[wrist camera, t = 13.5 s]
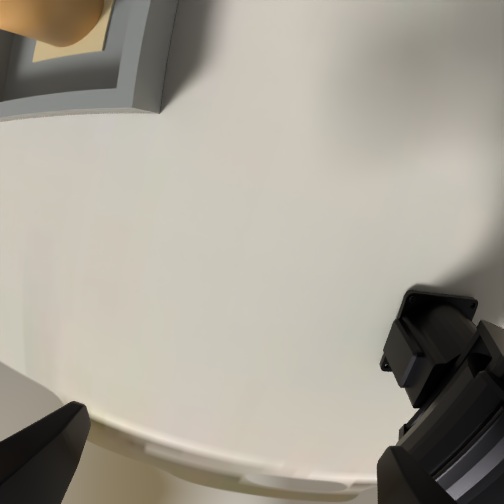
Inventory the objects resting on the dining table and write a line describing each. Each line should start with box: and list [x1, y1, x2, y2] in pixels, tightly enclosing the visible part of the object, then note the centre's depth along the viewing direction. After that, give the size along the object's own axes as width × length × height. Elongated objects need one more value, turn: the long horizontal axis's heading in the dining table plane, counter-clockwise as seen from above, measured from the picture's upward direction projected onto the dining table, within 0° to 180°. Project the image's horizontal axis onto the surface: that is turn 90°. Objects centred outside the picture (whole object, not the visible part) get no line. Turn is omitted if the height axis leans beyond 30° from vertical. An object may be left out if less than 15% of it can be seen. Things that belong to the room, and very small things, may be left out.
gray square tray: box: [0, 0, 178, 122], centre depth 13 cm, size 14×14×4 cm
